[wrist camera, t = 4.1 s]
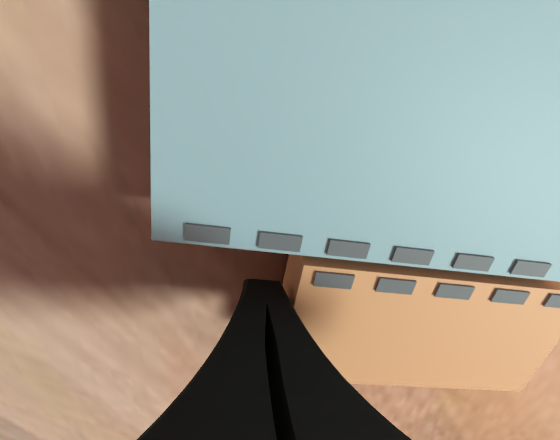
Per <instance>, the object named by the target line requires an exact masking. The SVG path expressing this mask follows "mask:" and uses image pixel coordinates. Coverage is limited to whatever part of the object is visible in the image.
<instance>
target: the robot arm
mask: <svg viewBox="0 0 560 440" xmlns="http://www.w3.org/2000/svg"><path fill="white" fill-rule="evenodd" d="M137 440H411V439H410V438H409V437H408V436H406V435H405V434H404V433H402V432H401V431H400V430H399V429H397V428H396V427H395V426H394V425H393V424H392V423H390V422H389V421H388V420H387V419H386V418H385V417H384V416H383V415H381V414H380V413H379V412H378V411H377V410H376V409H375V408H374V407H373V406H371V405H370V404H369V403H368V402H367V401H366V400H365V399H364V398H363V397H362V396H361V395H360V394H359V393H358V392H357V391H356V390H355V389H354V388H353V387H352V386H351V385H350V384H349V383H348V381H347V380H346V379H345V378H344V377H343V376H342V375H341V374H340V373H339V371H338V370H337V369H336V368H335V367H334V365H333V364H332V363H331V362H330V361H329V359H328V358H327V357H326V355H325V354H324V353H323V352H322V350H321V349H320V348H319V346H318V345H317V343H316V342H315V340H314V339H313V338H312V336H311V335H310V333H309V332H308V330H307V329H306V327H305V325H304V324H303V322H302V321H301V319H300V317H299V316H298V314H297V312H296V311H295V309H294V307H293V305H292V303H291V302H290V300H289V298H288V296H287V294H286V292H285V290H284V288H283V285H282V284H281V282H280V281H270V280H259V279H246V280H245V281H244V284H243V291H242V294H241V297H240V300H239V302H238V305H237V307H236V309H235V311H234V314H233V316H232V318H231V320H230V322H229V324H228V326H227V327H226V329H225V331H224V333H223V335H222V336H221V338H220V340H219V341H218V343H217V345H216V346H215V348H214V349H213V351H212V352H211V354H210V355H209V357H208V358H207V360H206V361H205V363H204V364H203V365H202V367H201V368H200V369H199V371H198V372H197V373H196V375H195V376H194V377H193V379H192V380H191V381H190V382H189V384H188V385H187V386H186V387H185V389H184V390H183V391H182V392H181V393H180V394H179V395H178V397H177V398H176V399H175V400H174V401H173V402H172V403H171V405H170V406H169V407H168V408H167V409H166V410H165V411H164V413H163V414H162V415H161V416H160V417H159V418H158V419H157V420H156V421H155V422H154V423H153V424H152V425H151V426H150V427H149V428H148V429H147V430H146V431H145V432H144V433H143V434H142V435H141V436H140V437H139V438H138V439H137Z"/></svg>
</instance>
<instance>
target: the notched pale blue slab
mask: <svg viewBox="0 0 560 440" xmlns="http://www.w3.org/2000/svg"><path fill="white" fill-rule="evenodd" d="M149 44H150V153H151V240H156V241H166V242H176V243H185V244H195V245H205V246H215V247H225V248H234V249H244V250H254V251H264V252H274V253H283V254H293V255H303V256H313V257H323V258H332V259H342V260H352V261H362V262H372V263H381V264H391V265H401V266H411V267H421V268H430V269H440V270H450V271H460V272H470V273H479V274H489V275H499V276H509V277H519V278H528V279H538V280H548V281H558V282H560V0H149Z"/></svg>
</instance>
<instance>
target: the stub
mask: <svg viewBox="0 0 560 440" xmlns="http://www.w3.org/2000/svg"><path fill="white" fill-rule="evenodd" d="M283 288H284V290H285V292H286V294H287V296H288V298H289V300H290V302H291V303H292V305H293V307H294V309H295V311H296V312H297V314H298V316H299V317H300V319H301V321H302V322H303V324H304V325H305V327H306V329H307V330H308V332H309V333H310V335H311V336H312V338H313V339H314V340H315V342H316V343H317V345H318V346H319V348H320V349H321V350H322V352H323V353H324V354H325V355H326V357H327V358H328V359H329V361H330V362H331V363H332V364H333V365H334V367H335V368H336V369H337V370H338V371H339V373H340V374H341V375H342V376H343V377H344V378H345V379H346V380H347V381H348V383H349V384H370V385H391V386H413V387H434V388H456V389H477V390H498V391H520V392H521V391H522V390H523V388H524V387H525V386H526V384H527V383H528V382H529V380H530V379H531V378H532V376H533V375H534V374H535V372H536V371H537V369H538V368H539V367H540V365H541V364H542V363H543V361H544V360H545V359H546V357H547V356H548V355H549V353H550V352H551V350H552V349H553V348H554V346H555V345H556V344H557V342H558V341H559V340H560V282H558V281H548V280H538V279H528V278H519V277H509V276H499V275H489V274H479V273H470V272H460V271H450V270H440V269H430V268H421V267H411V266H401V265H391V264H381V263H372V262H362V261H352V260H342V259H332V258H323V257H313V256H303V255H293V254H289V256H288V261H287V266H286V270H285V275H284V280H283Z"/></svg>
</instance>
